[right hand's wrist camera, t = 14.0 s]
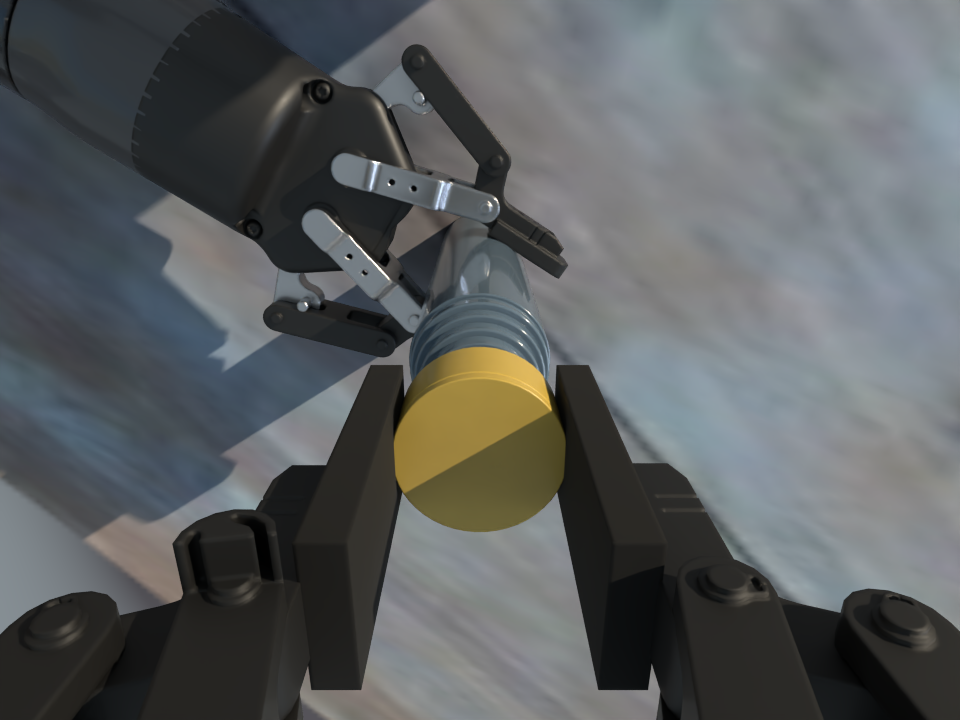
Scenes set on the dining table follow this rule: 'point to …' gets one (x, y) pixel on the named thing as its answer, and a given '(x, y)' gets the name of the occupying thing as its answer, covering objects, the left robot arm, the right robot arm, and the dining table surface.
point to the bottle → (478, 302)
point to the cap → (479, 440)
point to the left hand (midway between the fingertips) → (529, 310)
